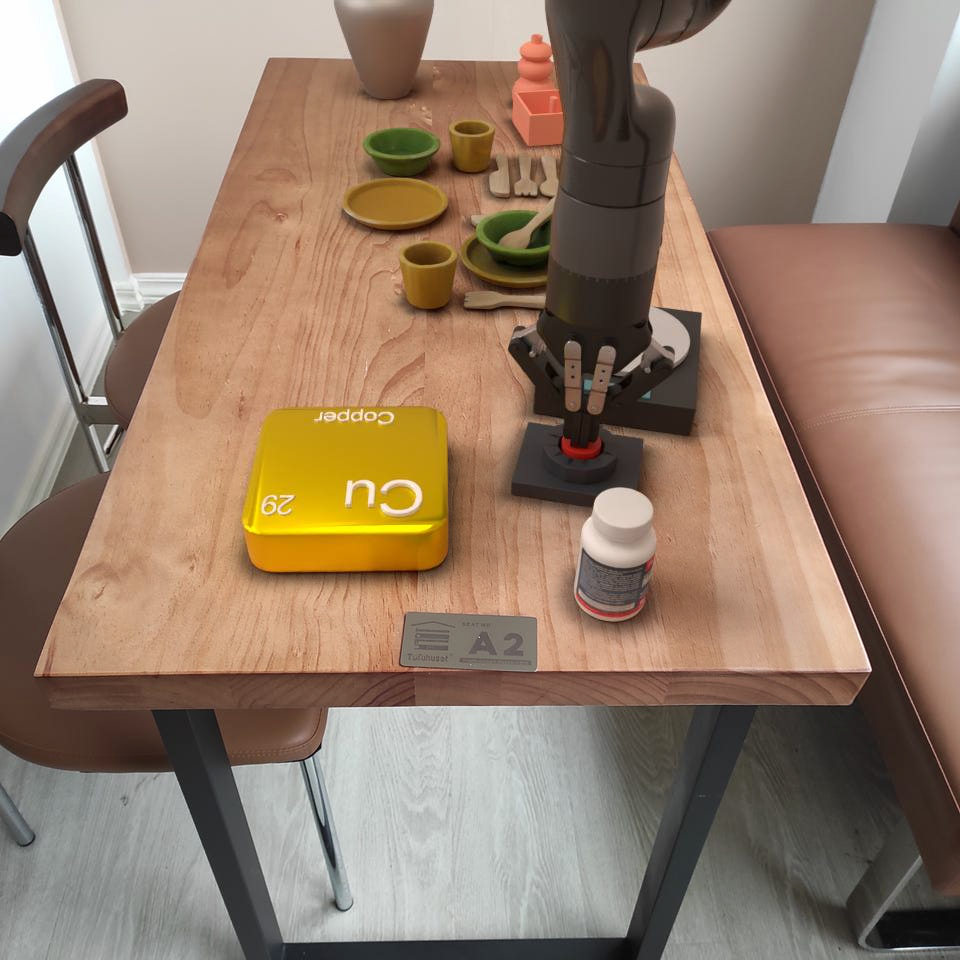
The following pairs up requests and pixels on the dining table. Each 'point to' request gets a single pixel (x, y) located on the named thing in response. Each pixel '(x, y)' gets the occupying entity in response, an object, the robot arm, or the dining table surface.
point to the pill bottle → (616, 555)
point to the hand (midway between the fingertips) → (580, 440)
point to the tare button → (581, 450)
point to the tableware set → (499, 237)
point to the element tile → (349, 490)
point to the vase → (385, 41)
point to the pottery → (537, 96)
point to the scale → (668, 400)
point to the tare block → (574, 466)
